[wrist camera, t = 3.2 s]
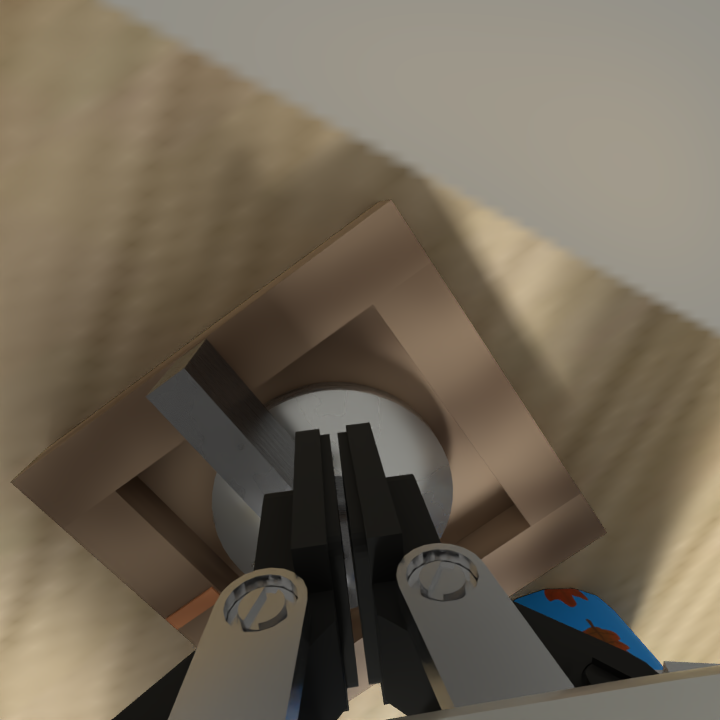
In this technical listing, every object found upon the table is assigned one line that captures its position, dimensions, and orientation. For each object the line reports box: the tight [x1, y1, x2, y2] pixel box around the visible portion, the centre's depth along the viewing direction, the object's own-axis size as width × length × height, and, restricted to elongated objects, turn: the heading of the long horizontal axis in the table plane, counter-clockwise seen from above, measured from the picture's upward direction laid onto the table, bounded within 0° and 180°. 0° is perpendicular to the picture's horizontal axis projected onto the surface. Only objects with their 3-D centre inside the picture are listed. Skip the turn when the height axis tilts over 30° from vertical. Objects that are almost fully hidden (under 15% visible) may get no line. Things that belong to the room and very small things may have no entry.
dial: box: [146, 338, 453, 609], centre depth 22 cm, size 16×12×6 cm
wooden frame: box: [11, 200, 607, 701], centre depth 25 cm, size 20×20×3 cm
